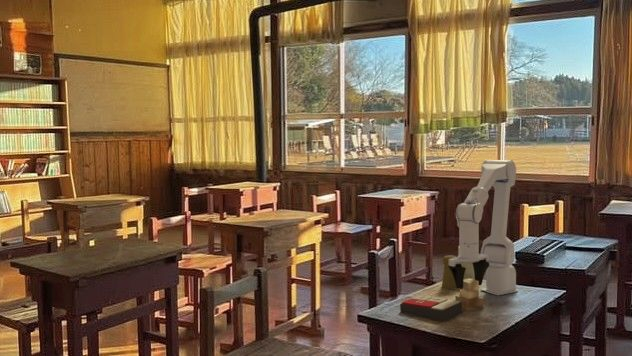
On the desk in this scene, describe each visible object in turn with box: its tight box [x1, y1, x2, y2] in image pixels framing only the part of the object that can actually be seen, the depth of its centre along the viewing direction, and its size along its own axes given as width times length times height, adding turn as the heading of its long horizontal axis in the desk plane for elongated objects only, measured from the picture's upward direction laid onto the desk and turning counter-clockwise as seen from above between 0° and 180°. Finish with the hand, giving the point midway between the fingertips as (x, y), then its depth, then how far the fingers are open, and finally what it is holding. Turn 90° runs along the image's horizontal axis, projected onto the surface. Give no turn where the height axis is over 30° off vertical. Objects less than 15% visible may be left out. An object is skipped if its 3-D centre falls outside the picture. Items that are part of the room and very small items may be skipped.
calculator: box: [399, 294, 463, 323], centre depth 181 cm, size 11×4×15 cm
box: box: [457, 245, 475, 280], centre depth 215 cm, size 5×4×13 cm
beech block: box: [459, 278, 480, 299], centre depth 186 cm, size 4×4×5 cm
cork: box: [441, 254, 459, 290], centre depth 209 cm, size 6×6×11 cm
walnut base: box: [454, 294, 484, 312], centre depth 186 cm, size 6×6×4 cm
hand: (469, 286), depth 185 cm, fingers open, 7 cm apart
